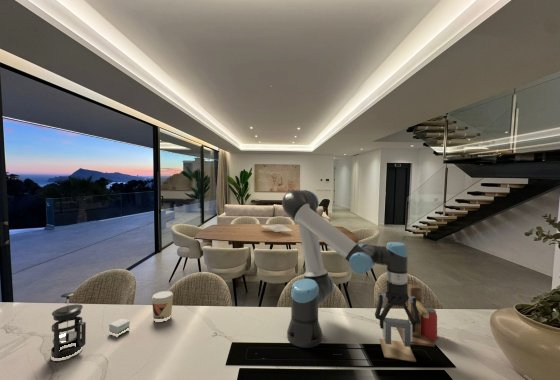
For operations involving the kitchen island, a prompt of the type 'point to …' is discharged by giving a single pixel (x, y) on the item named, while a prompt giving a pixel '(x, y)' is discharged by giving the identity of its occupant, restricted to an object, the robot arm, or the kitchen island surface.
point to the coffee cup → (162, 304)
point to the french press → (69, 337)
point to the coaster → (397, 350)
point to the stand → (416, 336)
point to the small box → (119, 326)
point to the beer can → (429, 324)
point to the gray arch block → (399, 324)
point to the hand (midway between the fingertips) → (396, 337)
